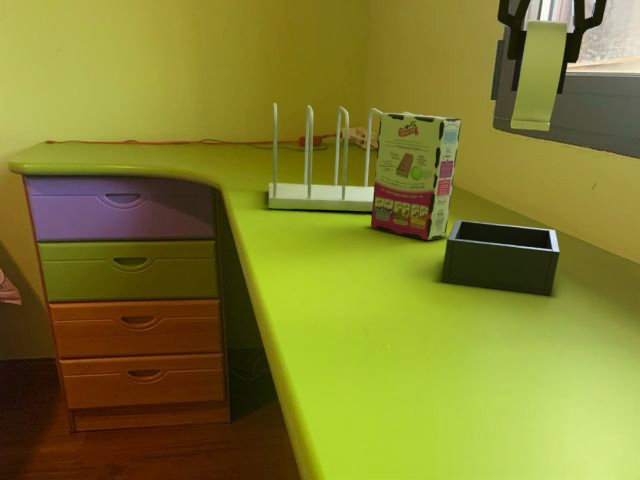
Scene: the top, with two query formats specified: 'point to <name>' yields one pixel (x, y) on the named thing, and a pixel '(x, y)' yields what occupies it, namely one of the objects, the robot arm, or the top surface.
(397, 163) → the candy bar box
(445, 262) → the tote
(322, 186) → the file sorter
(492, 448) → the top surface
